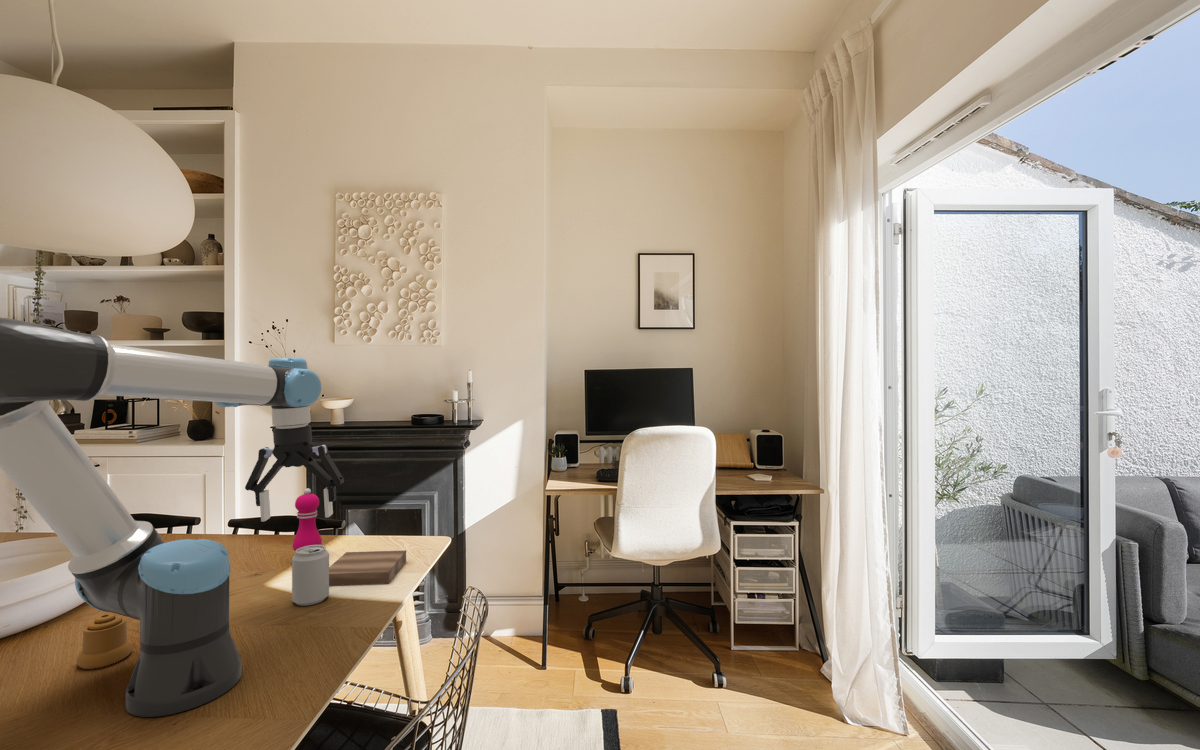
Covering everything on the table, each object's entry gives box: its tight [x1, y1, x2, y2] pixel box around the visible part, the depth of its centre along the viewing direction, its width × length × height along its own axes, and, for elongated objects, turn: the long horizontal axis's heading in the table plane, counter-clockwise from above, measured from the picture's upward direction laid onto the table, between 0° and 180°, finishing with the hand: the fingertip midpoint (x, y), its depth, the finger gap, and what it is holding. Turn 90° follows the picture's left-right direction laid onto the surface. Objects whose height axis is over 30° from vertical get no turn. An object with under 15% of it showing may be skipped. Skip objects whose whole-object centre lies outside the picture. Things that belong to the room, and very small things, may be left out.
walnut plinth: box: [329, 549, 407, 587], centre depth 139 cm, size 16×16×3 cm
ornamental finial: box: [76, 612, 133, 670], centre depth 97 cm, size 8×8×8 cm
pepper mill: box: [292, 487, 323, 552], centre depth 149 cm, size 7×7×20 cm
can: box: [291, 544, 330, 607], centre depth 122 cm, size 8×8×12 cm
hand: (297, 517), depth 121 cm, fingers open, 13 cm apart
